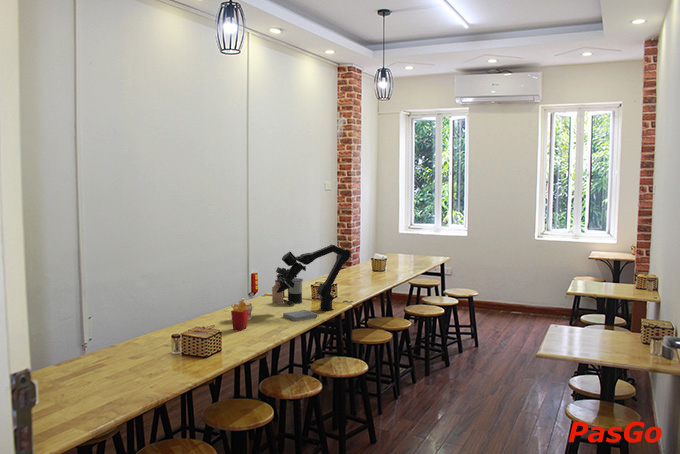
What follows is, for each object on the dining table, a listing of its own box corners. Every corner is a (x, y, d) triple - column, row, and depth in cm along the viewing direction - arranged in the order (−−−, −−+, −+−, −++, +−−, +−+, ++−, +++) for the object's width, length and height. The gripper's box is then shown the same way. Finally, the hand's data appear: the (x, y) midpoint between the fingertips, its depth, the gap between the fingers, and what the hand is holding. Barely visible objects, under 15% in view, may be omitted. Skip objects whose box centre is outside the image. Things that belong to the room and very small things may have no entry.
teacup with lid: (244, 322, 296) (244, 301, 296) (231, 319, 301) (231, 299, 300) (258, 317, 307) (258, 297, 306) (245, 315, 311) (245, 295, 310)
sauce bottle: (279, 300, 321) (279, 279, 320) (285, 302, 316) (285, 280, 315) (270, 302, 316) (270, 280, 315) (276, 304, 312) (276, 281, 311)
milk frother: (300, 300, 354) (300, 277, 353) (306, 305, 339) (306, 281, 338) (279, 301, 350) (279, 278, 349) (284, 306, 335) (284, 282, 334)
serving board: (304, 313, 319) (304, 309, 319) (317, 317, 310) (317, 313, 310) (283, 316, 310) (283, 313, 309) (295, 321, 300) (295, 317, 300)
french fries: (230, 330, 280) (230, 301, 279) (239, 326, 288) (239, 298, 287) (245, 332, 277) (245, 302, 276) (253, 328, 285) (253, 299, 283)
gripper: (279, 260, 324) (261, 279, 321) (289, 264, 307) (270, 285, 304) (292, 272, 328) (274, 291, 325) (302, 277, 311) (283, 298, 307)
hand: (275, 291), depth 315 cm, fingers closed on sauce bottle, 6 cm apart
